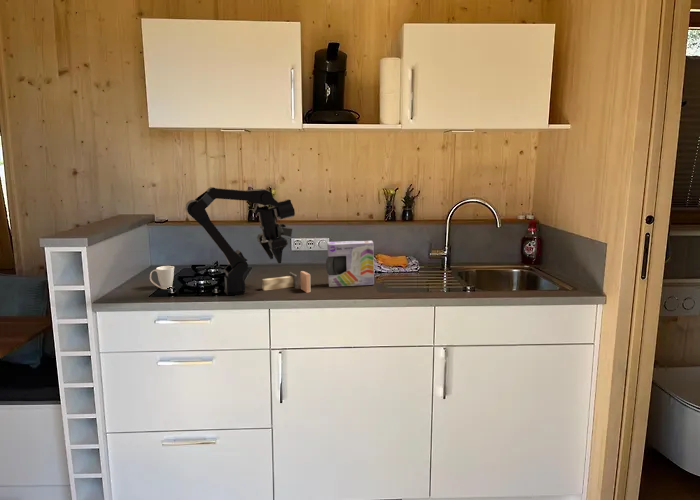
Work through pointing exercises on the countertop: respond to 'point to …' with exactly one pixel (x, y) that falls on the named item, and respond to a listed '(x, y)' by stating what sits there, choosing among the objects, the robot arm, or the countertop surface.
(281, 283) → the beige block with plate
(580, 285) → the countertop surface
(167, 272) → the cup
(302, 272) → the tile
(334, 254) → the cake pan box
